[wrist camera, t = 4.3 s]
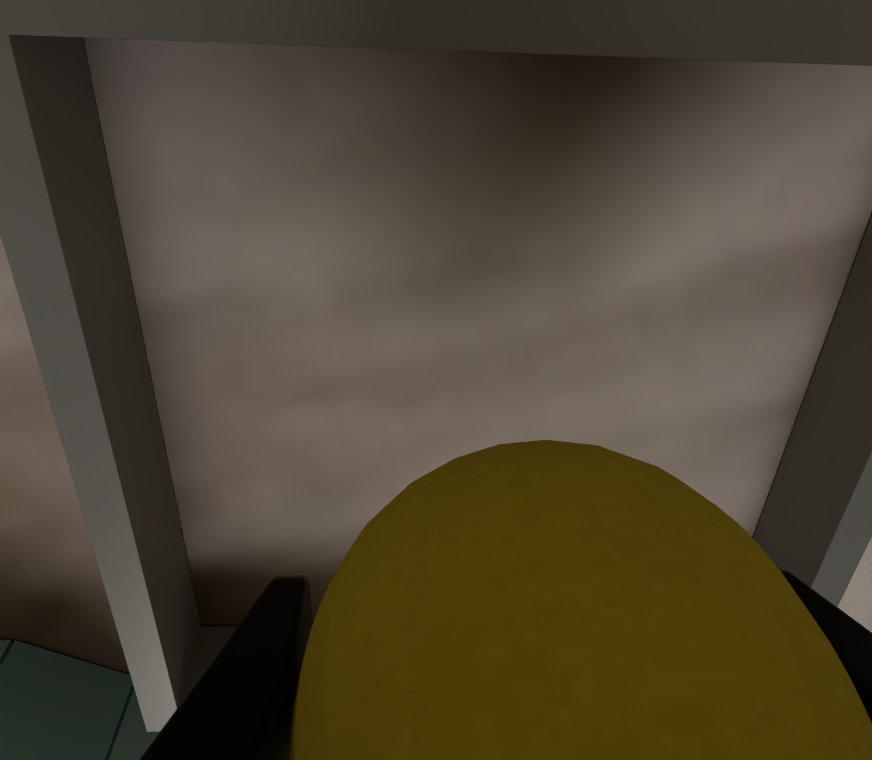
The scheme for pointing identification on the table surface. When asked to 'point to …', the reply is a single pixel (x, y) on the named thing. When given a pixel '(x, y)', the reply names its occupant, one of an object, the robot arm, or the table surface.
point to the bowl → (66, 708)
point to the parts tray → (118, 318)
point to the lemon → (566, 626)
